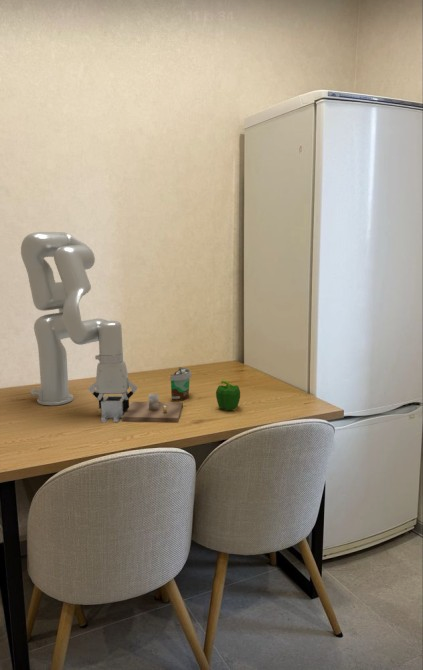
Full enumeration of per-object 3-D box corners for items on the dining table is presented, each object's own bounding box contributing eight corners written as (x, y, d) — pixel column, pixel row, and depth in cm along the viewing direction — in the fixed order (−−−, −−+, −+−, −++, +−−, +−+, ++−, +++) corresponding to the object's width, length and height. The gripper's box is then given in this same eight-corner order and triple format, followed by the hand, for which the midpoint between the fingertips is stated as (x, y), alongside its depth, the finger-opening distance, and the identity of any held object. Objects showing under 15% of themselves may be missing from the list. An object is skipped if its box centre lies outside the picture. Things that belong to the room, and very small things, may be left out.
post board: (122, 421, 170) (121, 402, 169) (132, 405, 186) (131, 387, 185) (178, 422, 170) (177, 402, 168) (183, 406, 185) (182, 388, 184)
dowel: (162, 413, 173) (162, 406, 173) (163, 412, 175) (163, 405, 174) (166, 413, 173) (166, 406, 173) (167, 412, 175) (166, 405, 174)
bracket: (106, 411, 180) (105, 395, 179) (126, 411, 180) (126, 395, 179) (98, 422, 170) (97, 405, 169) (120, 422, 169) (119, 405, 168)
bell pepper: (245, 407, 184) (245, 379, 182) (232, 414, 177) (232, 385, 176) (224, 403, 189) (224, 376, 187) (211, 409, 182) (211, 381, 180)
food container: (187, 402, 189) (186, 375, 187) (170, 401, 190) (170, 375, 188) (195, 393, 201) (194, 367, 199) (179, 392, 202) (179, 366, 200)
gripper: (82, 361, 170) (85, 414, 173) (135, 361, 169) (138, 414, 172) (88, 356, 177) (91, 407, 181) (139, 356, 177) (142, 406, 180)
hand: (114, 410), depth 176 cm, fingers closed on bracket, 7 cm apart
